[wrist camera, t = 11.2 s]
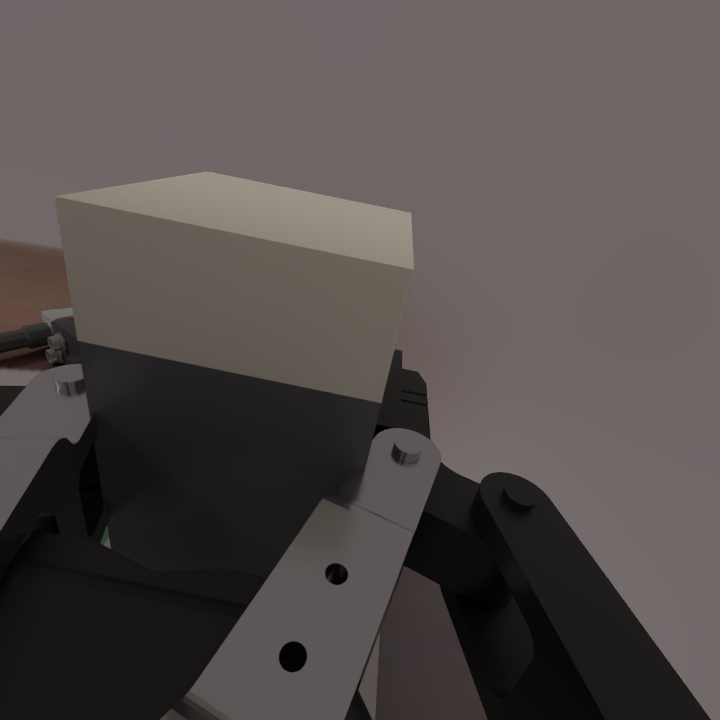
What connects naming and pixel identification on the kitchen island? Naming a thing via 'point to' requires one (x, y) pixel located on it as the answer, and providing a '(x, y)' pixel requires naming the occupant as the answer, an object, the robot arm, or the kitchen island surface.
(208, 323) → the grey and cream block
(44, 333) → the walkie-talkie
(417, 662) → the kitchen island surface
